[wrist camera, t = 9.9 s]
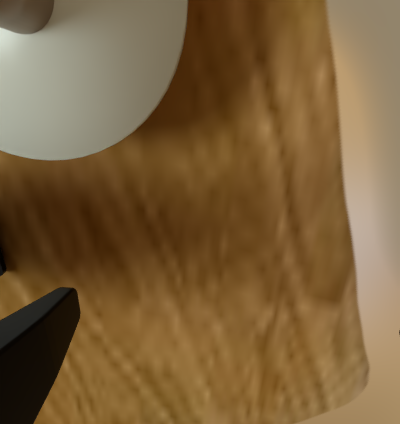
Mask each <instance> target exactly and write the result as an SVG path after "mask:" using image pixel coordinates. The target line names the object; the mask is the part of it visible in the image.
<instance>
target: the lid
mask: <svg viewBox="0 0 400 424" xmlns="http://www.w3.org/2000/svg"><path fill="white" fill-rule="evenodd" d="M187 15H188V0H0V150H1V151H4V152H7V153H10V154H13V155H17V156H21V157H26V158H30V159H40V160H68V159H74V158H80V157H84V156H87V155H90V154H93V153H97V152H100V151H102V150H104V149H106V148H108V147H110V146H112V145H114V144H116V143H118V142H120V141H121V140H123V139H124V138H126V137H127V136H129V135H130V134H132V133H133V132H134V131H135V130H136V129H137V128H139V127H140V126H141V125H142V124H143V123H144V122H145V121H146V120H147V119H148V118H149V116H150V115H151V114H152V113H153V111H154V110H155V109H156V108H157V106H158V105H159V103H160V102H161V100H162V98H163V97H164V95H165V93H166V92H167V90H168V88H169V86H170V84H171V81H172V79H173V77H174V74H175V72H176V70H177V66H178V63H179V60H180V56H181V53H182V50H183V44H184V39H185V33H186V28H187Z"/></svg>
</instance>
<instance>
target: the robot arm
mask: <svg viewBox="0 0 400 424" xmlns="http://www.w3.org/2000/svg"><path fill="white" fill-rule="evenodd" d="M5 272H6V266H5V262H4V259H3V255H2V252H1V248H0V276H1V275H3V274H4V273H5ZM79 319H80V306H79V300H78V294H77V291H76V289H74V288H67V287H60V288H58V289H56V290H54V291H52V292H50V293H49V294H47V295H45V296H43V297H41V298H40V299H38V300H36V301H34V302H32V303H31V304H29V305H27V306H25V307H24V308H22V309H20V310H18V311H16V312H15V313H13V314H11V315H9V316H7V317H6V318H4V319H2V320H0V424H33V423H34V421H35V419H36V417H37V415H38V413H39V411H40V409H41V407H42V405H43V403H44V401H45V400H46V398H47V396H48V394H49V392H50V390H51V388H52V386H53V384H54V381H55V379H56V377H57V375H58V373H59V370H60V368H61V365H62V363H63V360H64V358H65V355H66V353H67V350H68V348H69V345H70V342H71V340H72V337H73V335H74V332H75V330H76V327H77V324H78V322H79ZM399 333H400V332H399Z"/></svg>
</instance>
